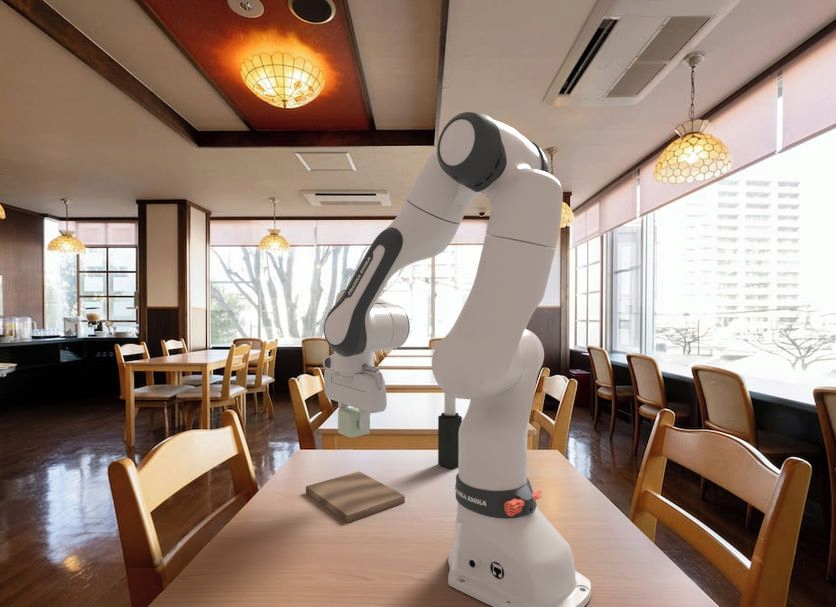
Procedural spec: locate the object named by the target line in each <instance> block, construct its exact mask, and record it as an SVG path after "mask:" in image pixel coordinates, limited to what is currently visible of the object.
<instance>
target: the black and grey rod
mask: <svg viewBox="0 0 836 607" xmlns="http://www.w3.org/2000/svg"><path fill="white" fill-rule="evenodd" d="M456 399H457V398H455V397H452V396H450V395H448V394H447V393H445V392H444V407H443V408H444V412H442V413H441V415H438V416H437V422H438V423H437V425H438V427H437V430H438V431H437V437H438V438H437V466H439V465H440V466H439V467H441V466H442V467H441V468H444V467H445V468H444V469H446V468H447V470H454V469H456V468H458V451H459V428H460V425H461V422H462V420H463V416H462V415H460V414H459V412H456V410H457V409H456V408H457V404H456ZM455 467H456V468H455Z"/></svg>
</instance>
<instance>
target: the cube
mask: <svg viewBox="0 0 836 607" xmlns="http://www.w3.org/2000/svg"><path fill="white" fill-rule="evenodd" d="M337 416H338V417H337V433H338V434H339V435H342V436H344V437H347V438H350V439H351V438H356V437H360V436H364V435H365V436H367V435H370V434H371V415H370V416H369V419H368V421H367V429H364V430H361V429H358V428H357V420H359V418H360V414H359V409H358V408H355V407H352V406H351V407H348V408H346V409H340V410H339V409H338V410H337Z"/></svg>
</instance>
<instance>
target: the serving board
mask: <svg viewBox="0 0 836 607" xmlns="http://www.w3.org/2000/svg"><path fill="white" fill-rule="evenodd" d="M305 494H307V495H309V497H311V498H313V499H314V500H315V501H316V502H318V503H319V504H321V505H322V506H324V507H325V508H327V509H328V510H329V511H330V512H332V513H333V514H335V515H336V516H337V517H339V518H340V519H342V521H344V522H345V523H347V524H349V523H351V522H354V521H357V520H360V519H363V518H365V517H368V516H371V515H374V514H377V513H380V512H382V511H385V510H388V509H391V508H394V507H396V506H399V505H401V504H404V503H405V502H406V500H405V499H406V498H405V496H406V495H404V494H403V493H401V492H398V491H396V490H395V489H393V488H391V487H390V486H387V485H385V484H384V483H382V482H380V481H378V480H376V479H374V478H373V477H371V476H369V475H366V474H365V473H363V472H361V471H355V472H352V473H349V474H345V475H342V476H338V477H334V478H330V479H326V480H323V481H320V482H317V483H313V484H309V485H306V486H305Z"/></svg>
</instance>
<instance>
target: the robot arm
mask: <svg viewBox="0 0 836 607" xmlns="http://www.w3.org/2000/svg"><path fill="white" fill-rule="evenodd" d="M483 195H486V197H487V199H488V200H489V202H490V212H489V213H490V214H489V220H488V223H487V227H486V231H485V235H484V240H483V245H482V247H481V248H482V250H481V252H480V257H479V261H478V264H477V265H478V266H477V271H476V274H475V277H474V280H473V283H472V285H471V286H472V287H471V289H470V291H469V293H468V296H467V298H466V301H465V302H464V305H463V306H462V308H461V310H460V312H459V314H458V317H457V318H456V320H455V322H454V324H453V325H452V327H451V328H450V331H449V332H448V333H447V334H445V336H444V337H443V338H442V339H441V340H440V341H439V342H438V344H436V347H435V349H434V351H433V354H432V360H431V370H432V375H433V377H434V379H435V382H436V384H437V385H438V386H439V388H440V389H441V390H442V391H443V393H444V394H445V393H447V394H448V395H450V396H452V397H455V398H456V399H461V400H470V401H469V405H468V408H467V411H466V413H465V415H464V417H463V418H462V422H461V425H460V428H459V451H458V467H457V468H458V472H457V474H456V475H455V476H456V477H455V485H454V489H455V499H456V502H457V508H456V517H455V525H454V530H453V532H454V533H453V540H452V544H451V548H450V552H449V555H448V558H447V560H448V562H447V563H448V568H449V572H448V575H447V585H448V586H449V587H452V588H453V589H456V590H457V591H460V592H461V593H464V594H466V595H468V596H470V597H472V598H474V599H476V600H478V601H480V602H482V603H484V604H487V605H489V606H491V607H585V606H586V605H587V604H588V603H589V601H590V600H591V597H592V584H591V581H590V579H589V578H587V577H586V576H585V575H583V574H581V573H579V571H577V570H576V567H575V566H576V565H575V559H574V554H573V550H572V547H571V546H570V544H569V543H568V542H567V540H566V539H565V538H564V537H563V536H562V535H561V534H560V533H559V531H558V530H557V528H555V527H554V525H553V524H552V523H551V522H550V521H549V519H548V518H547V517H546V516H545V515H544V514H543V513H542V512H541V510H540V509H539V508H538V507H537V504H538V503H537V500H539V499H541V498H542V495H541V494H542V489H541V490H538V491H535V492H534V491H533V487H532V485H531V482H530V479H529V478H528V474H527V473H528V434H529V433H528V431H529V423H530V418H531V412H532V407H533V403H534V398H535V397H534V396H535V392H536V386H537V380H538V376H539V374H540V371H541V368H542V367H543V364H544V359H545V350H544V347H543V344H542V341H541V340H540V339H539V337H538V336H537V335H536V334H535V333H534V332H532V330H529V329H527V326H528V324H529V322H530V320H531V319H532V316H533V314H534V312H535V311H536V309H537V307H538V306H539V305H540V304H541V302H543V299H544V297H545V293H546V288H547V286H548V281H549V276H550V273H551V270H552V269H551V268H552V265H553V261H554V257H555V252H556V249H557V244H558V239H559V235H560V231H561V222H562V215H563V214H562V213H563V203H564V202H563V199H564V198H563V197H564V192H563V187H562V184H561V182H560V181H559V180H558V179H557V178H556V177H555V176H554V175H553V174H550V173H549V161H548V159H547V157H546V154H545V153H544V152H543V150H542V149H541V148H540V147H539V145H537V144H536V143H535V142H534V141H531V140H529V139H527V138H526V137H525V136H524V135H522V134H521V133H519V131H518V130H516V129H515V128H513V127H511V126H509V125H507V124H506V123H503V122H502V121H498V120H495V119H493V118H492V117H491V116H489V115H487V114H485V113H480V112H476V111H475V112H474V111H468V112H467V111H466V112H465V111H464V112H461V113H459V114H457V115H454V117H451V119H450V120H449V121H448V122H447V123H446V125H445V126H444V128H442V130H441V133H440V134H439V138H438V141H437V146H436V151H434V152H433V153H432V154H430V156H429V157H428V159H426V161H425V163H424V164H423V166H422V168H421V169H420V171H419V172H418V174H417V176H416V178H415V180H414V182H413V183H412V186H411V188H410V190H409V192H408V195H407V196H406V199H405V202H404V204H403V205H402V207H401V209H400V211H399V212H398V214H397V216H395V218H394V219H393V221H392V222H390V224H389V225H388V226H387V227H386V228H385V229H384V230H382V231H381V232H380V233H379V234H378V235H377V236H376V237H375V239H374V240H373V242H372V243H371V244H370V247H369V248H368V250H367V251H366V253H365V255H364V256H363V258H362V260H361V261H360V263H359V265H358V267H357V269H356V271H355V272H354V275H353V276H352V277H351V279H350V281H349V282H348V283H349V284H348V286H346V289H342V290H341V291H340V292H338V293H337V295H336V298H335V302H334V305H333V306H332V307H331V309H330V310H329V312H328V314H327V315H326V318H325V320H324V324H323V335H324V338H325V341H326V343H327V344H328V346H329V347H330V348H331V349H332V351H333V353H332V354H331V355H329V356H326V357H324V358H323V359H322V367H323V368H324V373H323V384H324V385H323V386H324V387H323V388H324V389H323V390H324V394H325V396H326V398H327V399H329V400H332V401H335V402H337V404H338V406H337V407H338V410H340V409H346V408H349V407H351V408H352V407H355V408H358V409H359V414H360V418H359V420H357V428H358V429H361V430H364V429H367V421H368V419H369V416H370V417H371V414H377V413H381V412H385V411H386V409H387V406H388V402H387V401H388V400H387V389H386V381H385V378H384V376H383V373H382V372H381V370H380V368H379V367H378V366H375V352H381V351H387V350H395V349H396V348H400V347H402V346H403V345H404V344H405V343H406V341H407V339H408V338H409V335H410V330H411V326H410V319H409V316H408V314H407V312H406V310H405V309H403V307H401V306H400V305H397V304H393V303H391V302H389V301H386V300H383V299H381V298H380V296H381V294H382V293H383V291H384V289H385V287H386V286H387V283H388V281H389V280H390V279H391V278H392V276H394V275H395V274H396V273H397V272H398V271H400V270H401V269H403V268H406V267H407V266H409V265H412V264H415V263H417V262H420V261H425V260H427V259H428V260H429V259H431V258H434V257H436V256H438V255H440V254H442V253H443V252H444V251H445V250H446V249H447V248H448V246H449V245H450V244H451V242H452V240H453V239H454V238H455V236H456V234H457V232H458V229H459V228H460V225H461V223H462V221H463V219H464V216H465V214H466V212H467V209H468V207H469V206H470V204H471V203H472V201H473V200H475V199H476V198H478V197H479V196H483Z"/></svg>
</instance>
